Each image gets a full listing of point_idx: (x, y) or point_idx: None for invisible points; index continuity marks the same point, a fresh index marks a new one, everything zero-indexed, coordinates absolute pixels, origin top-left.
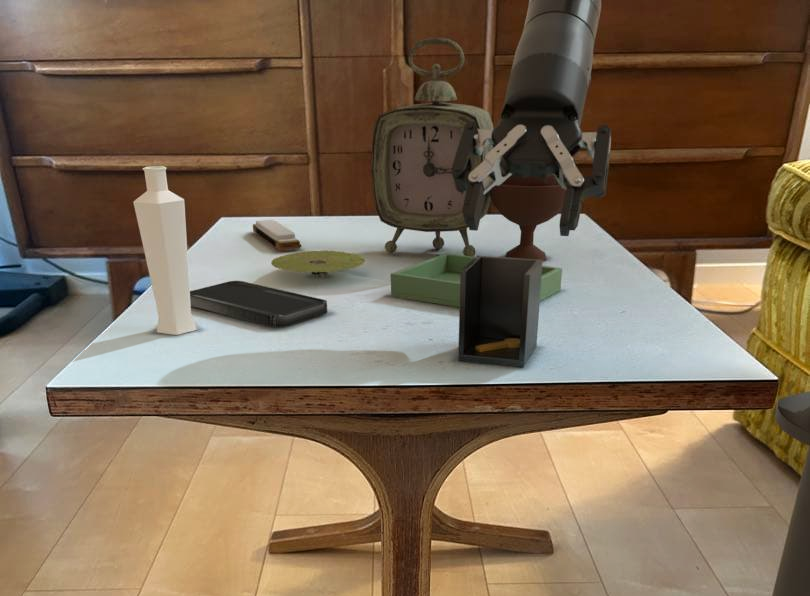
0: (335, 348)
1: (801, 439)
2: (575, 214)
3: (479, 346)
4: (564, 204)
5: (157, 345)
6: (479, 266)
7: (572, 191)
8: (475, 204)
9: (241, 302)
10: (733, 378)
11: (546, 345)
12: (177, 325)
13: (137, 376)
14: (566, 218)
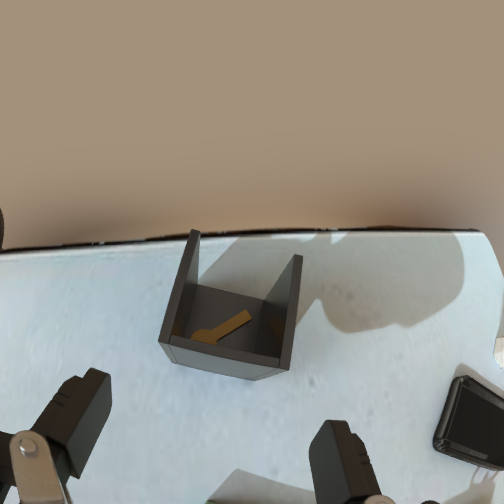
0: (397, 331)
1: (3, 223)
2: (66, 387)
3: (247, 314)
4: (85, 405)
5: (494, 312)
6: (278, 348)
7: (52, 426)
8: (340, 442)
9: (492, 411)
10: (5, 258)
11: (157, 372)
12: (501, 338)
13: (471, 249)
14: (90, 371)
